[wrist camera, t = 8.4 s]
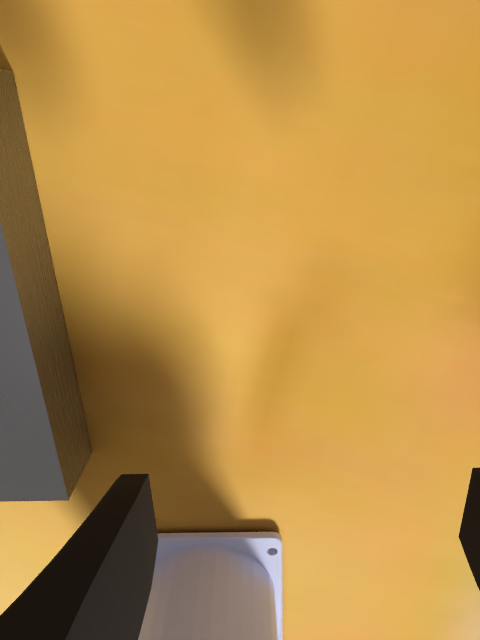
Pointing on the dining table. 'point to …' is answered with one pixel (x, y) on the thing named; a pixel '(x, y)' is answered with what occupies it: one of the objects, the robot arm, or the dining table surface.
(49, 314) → the gray block with hole
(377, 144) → the dining table surface
